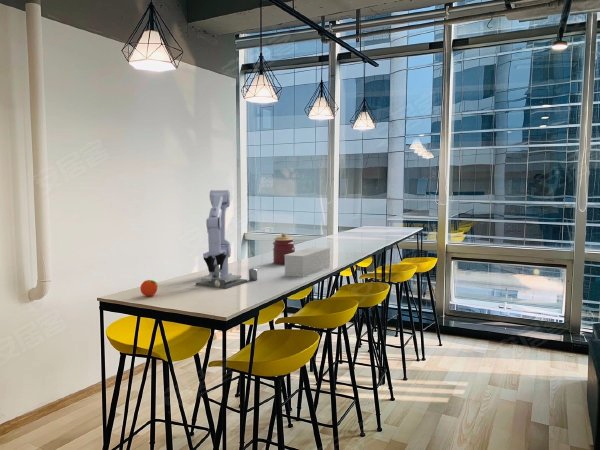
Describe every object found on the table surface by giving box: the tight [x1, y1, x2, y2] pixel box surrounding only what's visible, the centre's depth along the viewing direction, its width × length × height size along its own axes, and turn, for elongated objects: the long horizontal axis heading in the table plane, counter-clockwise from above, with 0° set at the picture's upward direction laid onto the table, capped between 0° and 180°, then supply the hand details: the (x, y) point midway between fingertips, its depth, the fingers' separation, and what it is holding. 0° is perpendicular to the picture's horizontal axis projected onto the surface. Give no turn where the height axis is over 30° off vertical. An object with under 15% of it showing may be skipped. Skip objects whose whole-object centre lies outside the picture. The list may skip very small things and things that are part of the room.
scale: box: [195, 278, 248, 290], centre depth 225 cm, size 18×16×4 cm
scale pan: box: [201, 274, 242, 283], centre depth 225 cm, size 14×12×2 cm
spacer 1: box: [212, 264, 220, 277], centre depth 226 cm, size 4×4×6 cm
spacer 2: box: [248, 267, 258, 282], centre depth 232 cm, size 4×4×6 cm
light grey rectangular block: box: [284, 246, 331, 278], centre depth 254 cm, size 32×11×11 cm, turn 152°
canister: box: [272, 232, 296, 265], centre depth 280 cm, size 13×13×18 cm
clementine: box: [139, 279, 159, 297], centre depth 202 cm, size 8×7×7 cm
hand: (215, 270), depth 226 cm, fingers open, 6 cm apart
